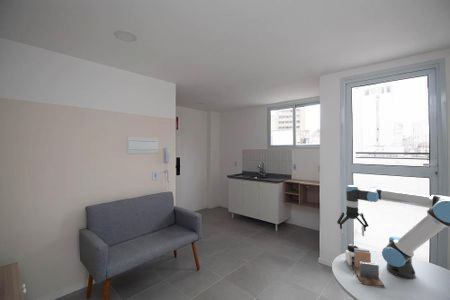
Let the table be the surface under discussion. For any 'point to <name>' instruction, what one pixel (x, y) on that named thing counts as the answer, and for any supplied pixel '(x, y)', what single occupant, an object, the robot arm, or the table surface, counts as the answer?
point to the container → (350, 254)
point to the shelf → (367, 280)
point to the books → (361, 256)
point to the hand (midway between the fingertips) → (352, 234)
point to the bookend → (369, 270)
